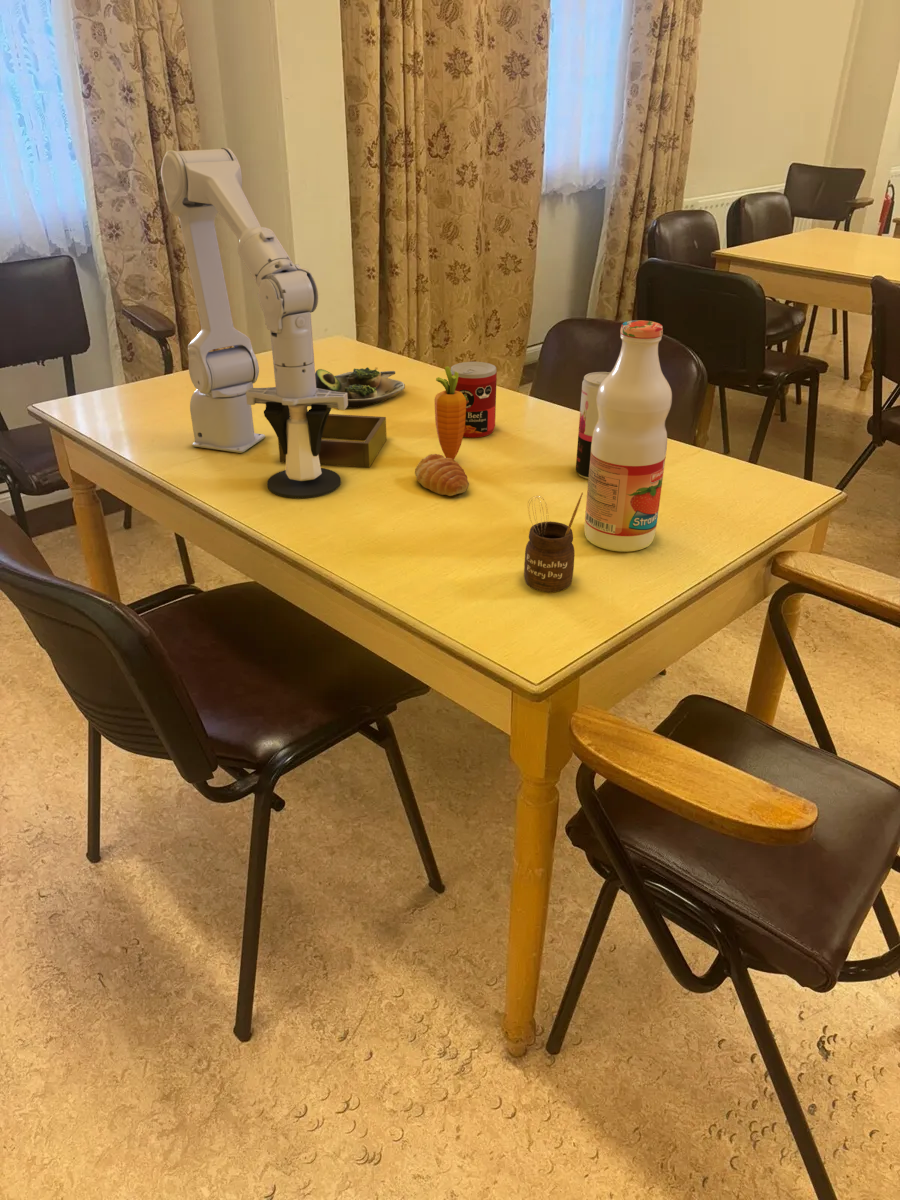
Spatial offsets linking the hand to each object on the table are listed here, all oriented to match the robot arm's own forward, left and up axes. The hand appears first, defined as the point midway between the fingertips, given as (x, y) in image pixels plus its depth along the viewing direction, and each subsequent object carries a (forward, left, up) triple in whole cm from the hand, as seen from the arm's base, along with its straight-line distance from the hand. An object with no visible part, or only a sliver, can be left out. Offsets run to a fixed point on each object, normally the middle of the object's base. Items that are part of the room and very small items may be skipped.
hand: (301, 452), depth 132 cm
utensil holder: (+42, -17, -5) cm, 46 cm away
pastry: (+20, +7, -5) cm, 22 cm away
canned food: (+17, +31, -5) cm, 35 cm away
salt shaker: (0, 0, -4) cm, 4 cm away
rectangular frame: (-2, +14, -5) cm, 15 cm away
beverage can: (+41, +19, -5) cm, 45 cm away
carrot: (+18, +16, -5) cm, 24 cm away
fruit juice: (+48, -2, -5) cm, 48 cm away
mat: (0, 0, -5) cm, 5 cm away
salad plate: (-11, +43, -5) cm, 44 cm away
